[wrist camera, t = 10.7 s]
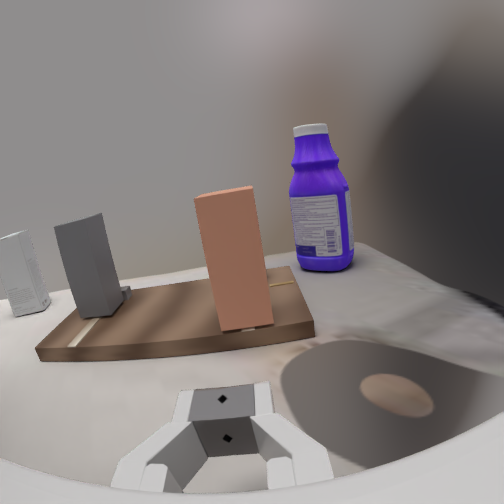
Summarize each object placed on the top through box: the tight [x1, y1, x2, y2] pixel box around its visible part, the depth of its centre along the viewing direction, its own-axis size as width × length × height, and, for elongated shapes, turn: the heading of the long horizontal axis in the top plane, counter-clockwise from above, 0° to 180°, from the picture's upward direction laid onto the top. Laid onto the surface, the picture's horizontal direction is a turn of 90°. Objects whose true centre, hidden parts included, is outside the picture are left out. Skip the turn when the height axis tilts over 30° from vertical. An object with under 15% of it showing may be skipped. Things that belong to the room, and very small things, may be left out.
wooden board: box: [35, 266, 315, 361], centre depth 30 cm, size 26×14×3 cm, turn 92°
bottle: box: [289, 124, 354, 271], centre depth 37 cm, size 7×6×17 cm
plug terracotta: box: [194, 186, 274, 331], centre depth 24 cm, size 4×4×10 cm
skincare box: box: [0, 230, 51, 317], centre depth 37 cm, size 6×4×12 cm
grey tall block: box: [54, 213, 124, 318], centre depth 30 cm, size 4×4×10 cm
